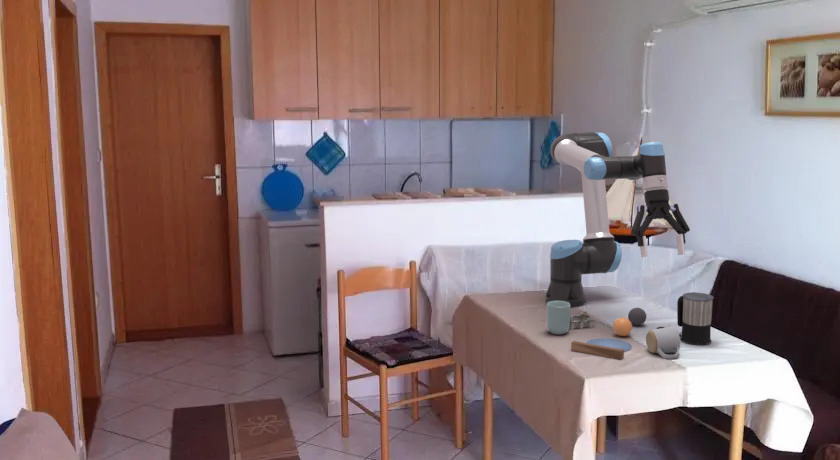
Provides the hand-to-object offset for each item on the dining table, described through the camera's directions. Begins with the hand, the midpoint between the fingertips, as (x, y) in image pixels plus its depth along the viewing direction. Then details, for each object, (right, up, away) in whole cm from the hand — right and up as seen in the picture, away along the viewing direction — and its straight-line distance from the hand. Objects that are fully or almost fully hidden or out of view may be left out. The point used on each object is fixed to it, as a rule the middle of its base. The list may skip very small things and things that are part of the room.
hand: (663, 255), depth 246 cm
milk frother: (+6, -27, -1) cm, 28 cm away
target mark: (-19, -28, -5) cm, 34 cm away
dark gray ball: (-4, -21, +15) cm, 27 cm away
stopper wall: (-24, -29, -13) cm, 40 cm away
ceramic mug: (-4, -29, -13) cm, 32 cm away
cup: (-32, -26, +9) cm, 42 cm away
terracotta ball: (-12, -23, +4) cm, 26 cm away
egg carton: (-24, -25, +17) cm, 38 cm away
